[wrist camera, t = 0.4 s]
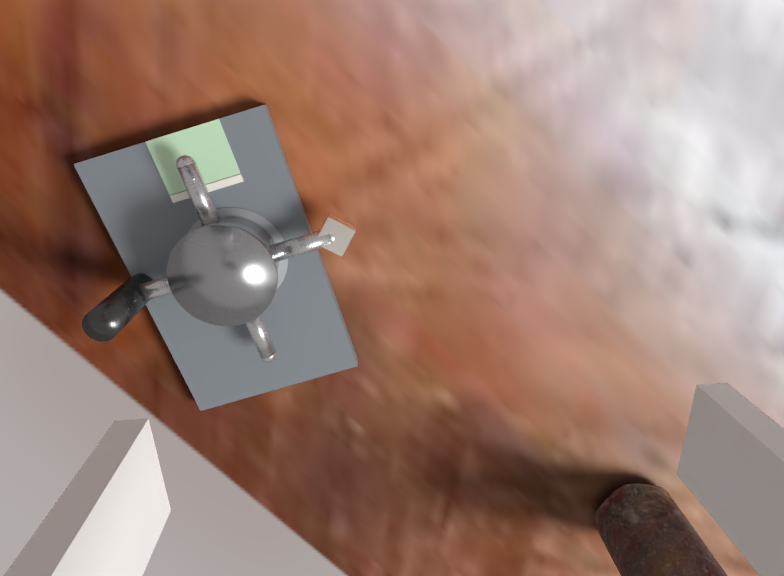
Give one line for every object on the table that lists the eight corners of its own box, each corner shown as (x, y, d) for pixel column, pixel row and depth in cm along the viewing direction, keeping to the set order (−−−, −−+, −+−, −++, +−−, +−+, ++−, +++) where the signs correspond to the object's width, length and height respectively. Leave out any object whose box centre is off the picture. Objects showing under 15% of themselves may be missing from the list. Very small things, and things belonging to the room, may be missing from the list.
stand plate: (82, 161, 34) (72, 164, 33) (266, 104, 34) (263, 105, 33) (204, 402, 42) (200, 411, 41) (357, 358, 41) (357, 366, 40)
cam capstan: (76, 187, 34) (14, 209, 28) (320, 111, 33) (311, 117, 27) (175, 378, 39) (142, 431, 33) (386, 317, 39) (392, 360, 32)
